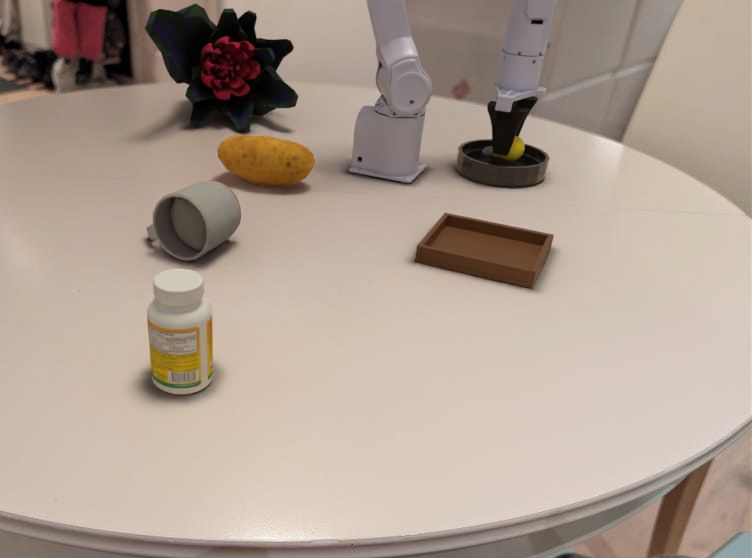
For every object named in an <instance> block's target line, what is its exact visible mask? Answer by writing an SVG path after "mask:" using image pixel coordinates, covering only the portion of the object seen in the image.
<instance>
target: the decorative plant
mask: <svg viewBox="0 0 752 558" xmlns="http://www.w3.org/2000/svg"><path fill="white" fill-rule="evenodd" d="M257 19H258V17H257V13H256V12H254V11H252V10H250V9H249V10H247V11H245V12H243V13H242V14H241V15H240V16H239V17H238V13H237V12H236V11H235V10H234V8H223V9H222V12H221V13H220V16H219V19H218V21H217V24H215V23H214V22H213V21H212V20H211V18H210V16H209V15H208V12H207V11H206V9H205V8H204V7H203V6H201V5H200V4H198V3H193V4H191V5H188V6H186V7H183V8H181V9H179V10H177V11H176V10H175V11H174V10H170V9H164V8H158V9H156V10H153V11H151V12H150V13H149V16H148V18H147V21H146V24H145V27H144V30H145V31H146V33H147V35H148V37H149V38H150V39H151V41H152V43H153V44H154V45H155V46H156V48H157V49H158V51H159V52H160V54H161V57H162V60H163V64H164V67H165V69H166V71H167V73H168V75H169V77H170V78H171V79H172V80H173V81H174V82H175V83H176V84H177V85H178V84H179V85H180V84H185V85H188V87H187V88H186V91H185V98H186V99H187V100H188V101H189V102H190V103H191V106H192V107H191V112H190V116H189V126H192V127H194V128H196V129H197V128H199V126H201V125H202V124H203V123H204V122H205V121H206V120H207V118H208V117H209V116H211V114H212V113H214V112H216V111H217V112H218V113H219V114H220V115H223V116H224V117H226V118H227V119H230V120H231V121H232V122H233V124H234V126H235V127H236V129H237V130H238V131H239V132H240V133H244V132H247V131H250V129H251V127H252V123H253V117H260V118H262V117H263V116H264V117H265V115H267V114H269V113H271V112H273V111H274V110H277V109H292V108H295V107H297V103H298V99H299V94H297V92H296V90H295V89H293V87H291V86H290V85H289V84H288V83H286V82H285V81H284V79H282V76H280V75H279V74H278V72H277V71H278V69H279V67H280V65H281V63H282V61H283V60H284V59H285V58H286V57H287V56H288V55H289V54H291V53H292V52H293V50H294V48H295V47H294V44H293V42H292V40H290V39H288V38H277V39H271V38H270V39H268V38H262V37H257V33H256V24H257Z"/></svg>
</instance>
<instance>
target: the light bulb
mask: <svg viewBox="0 0 752 558" xmlns="http://www.w3.org/2000/svg"><path fill="white" fill-rule="evenodd" d="M524 144H525V142H524V141H523V139H522V138H521V137H520V136H519V137H517V136H515V138H514V141H513V144H512V147H511V149H510V151H509V153H508V155H507V156H504V155H498V154H493V150H492V146H488V147H485V148H484V149H483V150H482V153H483V154H484V155H485V156H492V155H493V156H494V157H500V158H502V159H505V160H508V161H514V160H517V159H518V158H520V157H521V156H522V154H523V152H524V150H525V145H524Z"/></svg>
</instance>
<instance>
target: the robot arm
mask: <svg viewBox="0 0 752 558" xmlns="http://www.w3.org/2000/svg"><path fill="white" fill-rule="evenodd" d="M558 1H559V0H511V3H510V9H509V12H508V17H507V22H506V28H505V33H504V38H503V43H502V48H501V53H500V59H499V64H498V68H497V69H498V70H497V73H496V74H497V75H496V80H495V82H494V83H493V88H492V89H493V92H494V93H495V95H496V101H494V100H490V101H489V102H488V103H487V106H486V108H487V109H486V110H487V113H488V116H489V119H490V120H489V121H490V124H491V139H492V150H493V154H498V155H504V156H507V155H508V153H509V151H510V149H511V147H512V144H513V141H514V138H515V136H517V137H519V138H520V134H521V131H522V129H523V127H524V124H525V122H526V120H527V118H528V116H529V114H530V113H531V111H532V110H533V108H534V106H535V105H536V104H537V103H538V101H539V97H537V96H540V97H541V96H545V94H546V93H547V88H546V87H543V86H539V83H540V78H541V75H542V74H541V73H542V70H543V64H544V60H545V56H546V52H547V47H548V42H549V38H550V34H551V29H552V25H553V19H554V14H555V10H556V5H557V3H558ZM366 6H367V11H368V14H369V19H370V24H371V27H372V32H373V35H374V41H375V55H376V60H377V69H376V73H375V85H376V88H377V90H378V91H379V93H380V95H379V97H378V98H377V100H376V102H374V105H364V106H363V105H362V107H361V108H360V110H359V112H358V114H357V116H356V120H355V124H354V130H353V142H352V153H351V164H350V168H349V170H348V171H349V173H355V174H359V175H365V176H369V177H376V178H380V179H384V180H385V179H386V180H391V181H396V182H400V183H407V184H411V183H412V182H413V181H414V180H415V179H416V178H417V177H418V176H419V175H420V174H421V173H422V172H423V171H424V170H425V169H427V165H426V164H425V163H421V162H420V155H421V149H422V148H421V147H422V139H423V133H424V127H425V118H426V112H427V111H426V110H427V105H428V104H429V103H430V100H431V98H432V96H433V83H432V80H431V78H430V76H429V75H428V73H427V72H426V70H424V68H423V66H422V64H421V60H420V56H419V52H418V50H417V46H416V44H415V41H414V39H413V36H412V30H411V26H410V20H409V16H408V11H407V6H406V1H405V0H366Z"/></svg>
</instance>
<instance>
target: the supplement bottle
mask: <svg viewBox="0 0 752 558" xmlns="http://www.w3.org/2000/svg"><path fill="white" fill-rule="evenodd" d="M152 281H153V282H152V285H153V287H152V288H153V295H154V298H153V299H151V301H150V302H149V304H148V306H147V308H146V319H147V320H146V321H147V331H148V332H147V333H148V344H149V347H148V348H149V359H150V369H151V371H150V372H151V379H152V382H153V384H154V386H156V387H157V388H158V389H160V390H161V391H163V392H165V393H168V394H173V395H190V394H193V393H198V392H199V391H201V390H203V389H205V388H206V387H207V386H209V384H210V383H211V382H212V380H213V376H214V346H213V345H214V344H213V343H214V342H213V341H214V340H213V339H214V337H213V333H214V332H213V307H212V305H211V303H210V300H208V298H207V297H205V296H204V294H205V287H204V284H205V283H204V277H203V276H202V274H200V273H199V272H197V271H194V270H192V269H187V268H171V269H167V270H163V271H161V272H159V273H157V274H156V275H155V277H154V278H153V280H152Z"/></svg>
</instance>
